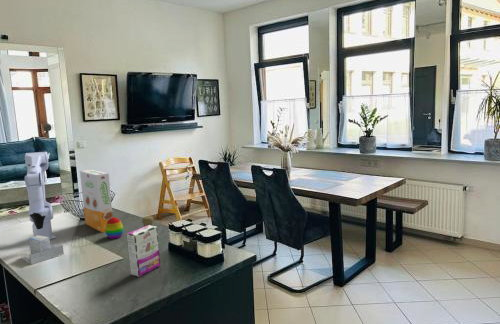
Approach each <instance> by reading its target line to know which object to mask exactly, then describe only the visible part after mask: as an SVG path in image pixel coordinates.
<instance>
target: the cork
mask: <svg viewBox="0 0 500 324" xmlns="http://www.w3.org/2000/svg"><path fill="white" fill-rule="evenodd" d="M141 221H142V224H143V227H145V226H148V225H151V226H154V217H153V216H150V215H147V216H144V217H142V220H141Z"/></svg>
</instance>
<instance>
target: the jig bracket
mask: <svg viewBox="0 0 500 324" xmlns="http://www.w3.org/2000/svg"><path fill="white" fill-rule="evenodd" d="M62 254H63V255H64V254H65V253H64V245H62V244H59V245H57V246H56V245H54V244H50V248H49V249H46V250H42V251H39V252H36V253H32V254H31V253H29V254H28V253H26V252H22V253H20V258H21V259H22V260H23V261H25V262H27V263H28V264H29V265H31V266H32V265H34V264H37V263H38V264H39V263H41V262H44V261H47V260H50V259H49V258H51V259H53V258H52V257H54V258H56V256H57V257H59V255H60V256H63V255H62Z"/></svg>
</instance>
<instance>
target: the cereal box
mask: <svg viewBox="0 0 500 324" xmlns="http://www.w3.org/2000/svg"><path fill="white" fill-rule="evenodd" d="M79 176H80V185H81V194H82V203H83V212H84V213H83V214H84V221H85V225H86V226H89V227H90V228H92V229H95V230H97V231H98V232H99V233H100V232H101V233H106V224H107V222H108V220H109V219H110V218H112V217H113V207H112V206H113V205H112V195H111V185H110V174H109V172H105V171H100V170H96V169H85V170H79Z"/></svg>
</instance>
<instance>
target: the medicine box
mask: <svg viewBox="0 0 500 324" xmlns="http://www.w3.org/2000/svg"><path fill="white" fill-rule="evenodd" d="M28 244H29V250H30V254H32V253H36V252H39V251H42V250H46V249H49V248H50V245H51V242H50V239H49V237H45V236H40V235H37V236H31V237H30V238H28Z"/></svg>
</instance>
